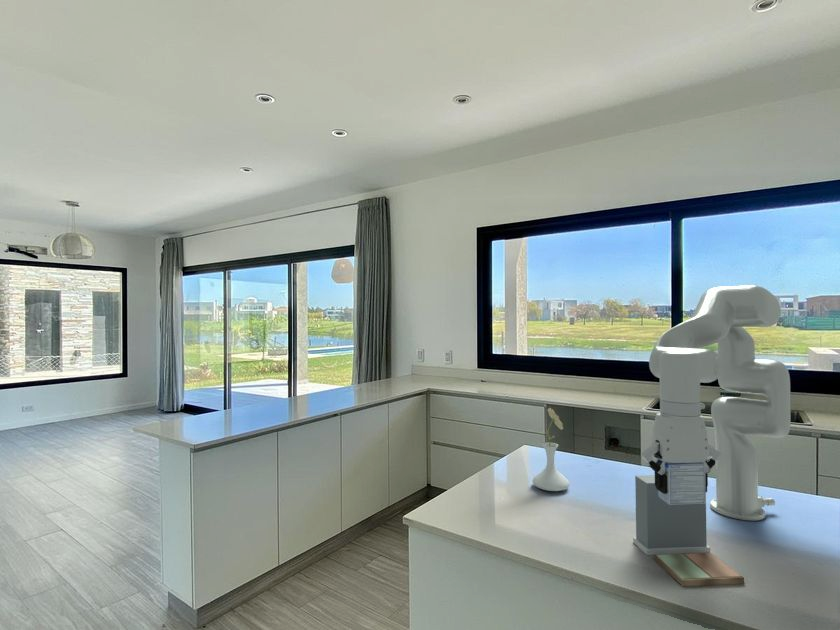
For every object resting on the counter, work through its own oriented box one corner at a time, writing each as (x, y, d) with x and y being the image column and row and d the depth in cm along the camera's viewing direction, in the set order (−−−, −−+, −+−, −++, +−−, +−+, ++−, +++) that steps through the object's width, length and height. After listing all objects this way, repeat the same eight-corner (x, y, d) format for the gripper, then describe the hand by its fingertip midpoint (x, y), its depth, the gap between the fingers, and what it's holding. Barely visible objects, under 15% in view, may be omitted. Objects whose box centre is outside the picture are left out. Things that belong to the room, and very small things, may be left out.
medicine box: (693, 496, 99) (692, 456, 99) (706, 504, 94) (705, 463, 94) (657, 497, 98) (656, 457, 98) (669, 505, 94) (668, 464, 94)
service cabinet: (693, 539, 110) (692, 473, 110) (710, 552, 104) (709, 482, 104) (633, 542, 109) (632, 475, 109) (646, 555, 103) (645, 484, 103)
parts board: (710, 557, 102) (709, 551, 102) (744, 583, 92) (744, 577, 92) (654, 559, 101) (654, 553, 101) (682, 586, 91) (682, 579, 91)
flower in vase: (569, 496, 137) (568, 414, 137) (531, 492, 140) (530, 412, 141) (569, 481, 149) (568, 406, 150) (534, 478, 153) (533, 404, 153)
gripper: (707, 404, 101) (708, 483, 100) (631, 406, 100) (632, 485, 100) (732, 411, 93) (733, 496, 93) (650, 413, 92) (651, 499, 92)
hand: (681, 490), depth 96 cm, fingers closed on medicine box, 8 cm apart
